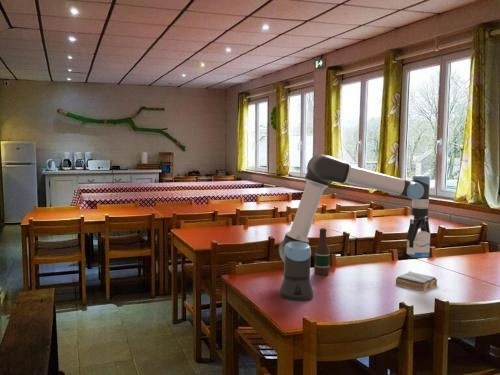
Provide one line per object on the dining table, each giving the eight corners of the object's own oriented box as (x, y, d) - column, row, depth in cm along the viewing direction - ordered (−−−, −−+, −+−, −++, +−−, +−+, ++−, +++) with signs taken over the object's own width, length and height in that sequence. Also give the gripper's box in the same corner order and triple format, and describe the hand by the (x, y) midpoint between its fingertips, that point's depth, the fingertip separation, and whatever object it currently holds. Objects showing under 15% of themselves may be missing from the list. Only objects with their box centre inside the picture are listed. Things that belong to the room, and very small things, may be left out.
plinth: (422, 291, 217) (423, 283, 217) (395, 284, 227) (395, 276, 227) (436, 285, 227) (437, 277, 226) (409, 279, 237) (410, 271, 237)
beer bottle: (328, 272, 247) (330, 227, 245) (329, 276, 240) (331, 230, 237) (313, 271, 248) (315, 227, 246) (314, 275, 240) (315, 229, 238)
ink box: (429, 257, 221) (431, 233, 220) (411, 257, 221) (413, 233, 220) (423, 253, 230) (424, 230, 229) (406, 253, 230) (407, 229, 229)
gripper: (415, 210, 212) (413, 257, 215) (439, 206, 229) (436, 249, 231) (400, 208, 218) (398, 254, 220) (424, 204, 234) (422, 247, 236)
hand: (417, 252), depth 225 cm, fingers closed on ink box, 11 cm apart
